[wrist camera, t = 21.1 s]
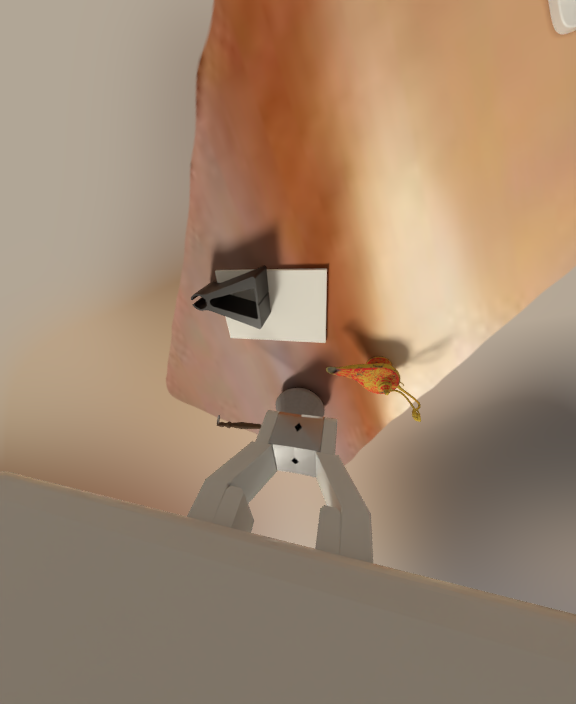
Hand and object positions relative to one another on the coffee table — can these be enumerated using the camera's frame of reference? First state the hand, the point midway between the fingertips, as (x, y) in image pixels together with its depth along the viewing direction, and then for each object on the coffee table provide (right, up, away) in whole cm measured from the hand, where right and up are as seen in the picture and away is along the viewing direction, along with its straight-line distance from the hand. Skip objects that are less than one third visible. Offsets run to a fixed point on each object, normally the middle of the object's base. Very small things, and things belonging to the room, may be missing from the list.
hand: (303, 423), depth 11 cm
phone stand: (-5, +12, +31) cm, 33 cm away
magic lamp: (+16, +1, +38) cm, 41 cm away
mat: (-3, +12, +35) cm, 37 cm away
